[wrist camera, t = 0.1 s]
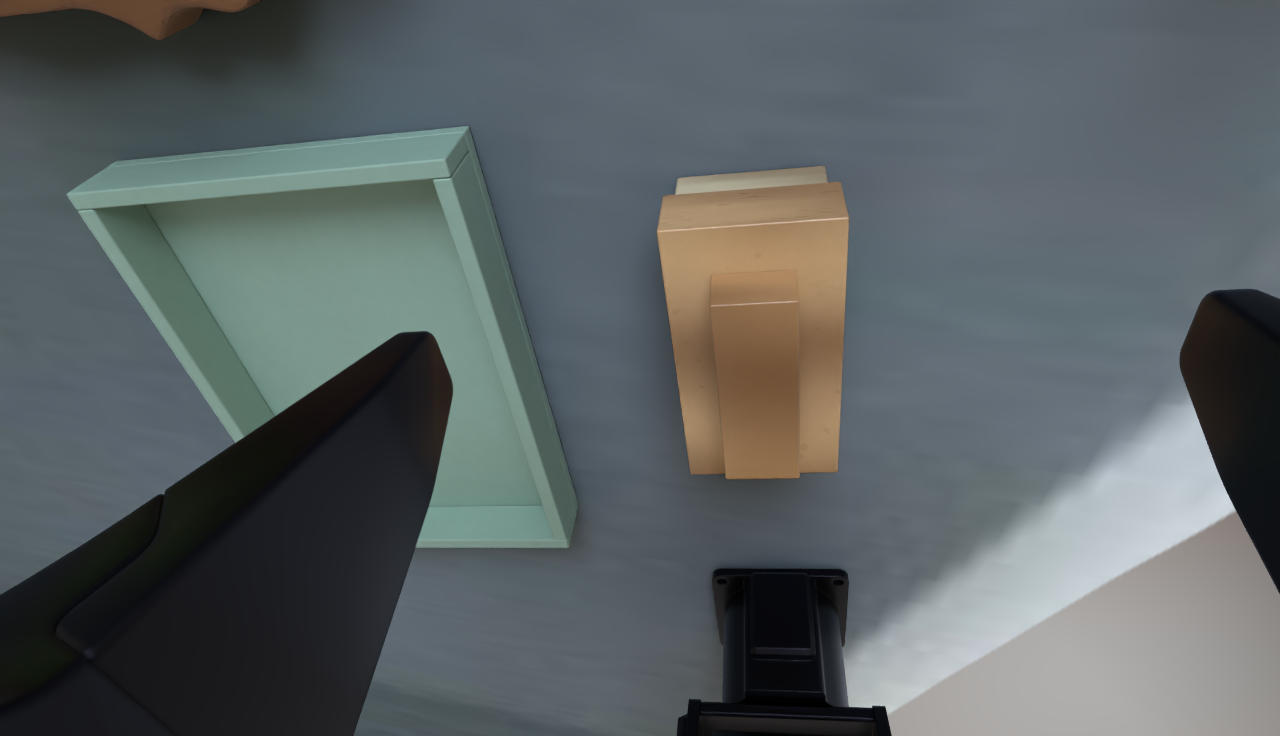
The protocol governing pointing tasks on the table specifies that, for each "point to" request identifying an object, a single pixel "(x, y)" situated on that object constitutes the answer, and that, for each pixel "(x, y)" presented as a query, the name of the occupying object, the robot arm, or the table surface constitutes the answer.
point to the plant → (134, 11)
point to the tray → (347, 301)
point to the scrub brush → (757, 318)
